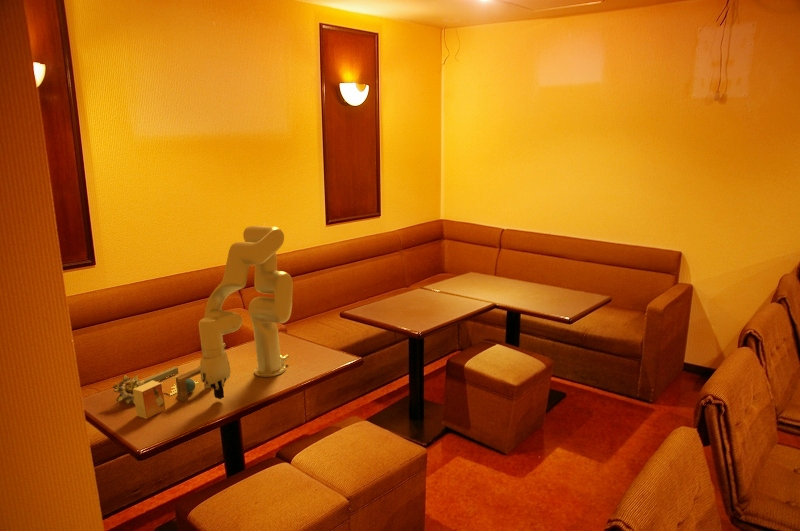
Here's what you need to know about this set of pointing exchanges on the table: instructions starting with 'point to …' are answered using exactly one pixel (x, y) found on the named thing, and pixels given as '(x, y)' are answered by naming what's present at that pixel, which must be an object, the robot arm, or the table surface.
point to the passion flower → (127, 388)
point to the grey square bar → (162, 375)
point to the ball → (190, 385)
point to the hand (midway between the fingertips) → (219, 397)
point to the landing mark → (176, 389)
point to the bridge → (184, 383)
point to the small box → (149, 399)
